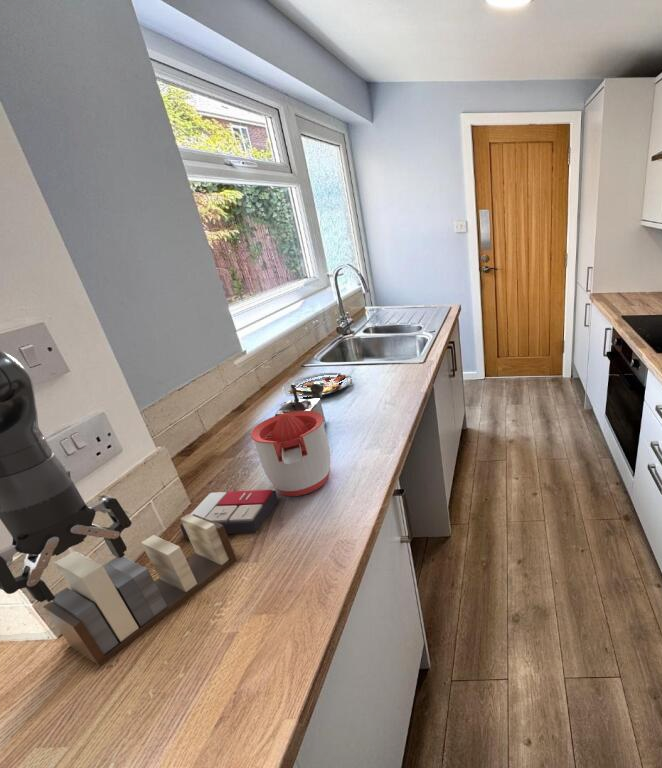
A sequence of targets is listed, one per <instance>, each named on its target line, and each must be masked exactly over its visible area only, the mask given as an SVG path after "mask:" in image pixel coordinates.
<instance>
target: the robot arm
mask: <svg viewBox="0 0 662 768" xmlns="http://www.w3.org/2000/svg"><path fill="white" fill-rule="evenodd" d="M38 419H39V417H38V410H37V403H36V397H35V389H34V385H33V380H32V377H31V375H30V373H29V372H28V370H27V368H26V367H25V366H24V365H23V364H22V362H21V361H19V360H18V359H17V358H16V357H14V356H13V355H11V354H9V353H7V352H6V351H4V350H0V521H1V523H2V524H3V525H4V527H5V529H6V530H7V531H8V533H9V534H10V536H11V537H12V542H11V545H9V546H6V547H3V548H2V549H0V590H2V591H3V592H4V593H6V594H7V595H11V594H12V595H13V594H15V593H16V592H17V591H19V590H21V589H26V590H27V591H28V593H29V594H30V595H31V597H32V598H33V599H34V600H36V601H37V602H40V603H43V602H45V601H46V602H47V603H49V602H51V601H52V600H53V599H55V597H54V594H53V592H52V591H51V590H50V588H49V587H48V585H47V584H46V582H45V581H44V580H43V579H41V577H42V576H43V573H44V571H45V569H47V567H49V566H48V565H49V564H50V561H51V559H52V557H54V556H56V557H57V556H60V555H61V554H63V553H65V552H66V551H68V549H69V548H72V547H74V546H77V545H79V544H81V543H83V542H84V541H85V539H86V538H87V537H88V536H91V537H96V538H103V540H104V542H105V544H106V546H107V547H108V549H109V552H111V554H112V556H114V557H115V558H116V557H117V558H121V557H125V556H126V553H125V552H126V551H127V545H126V543H125V542H124V540H123V538H122V536H121V534H122V532H123V531H124V530H125V529H128V528H130V527H131V526H132V521H131V519H130V517H129V516H128V514H127V512H126V511H125V509H123V507H122V505H121V504H120V502H119V501H118V499H117V498H116V497H113V496H110V495H107V494H102V495H101V496H100V497H98V501H96V502H95V503H93V504H90V505H89V506H88V505H87V504H86V502H85V501H84V498H83V497H82V495H81V493H80V491H79V489H78V488H77V486H76V485H75V483H74V481H73V480H72V476H71V473H70V472H69V471H68V470H67V469H66V467H65V466H64V464H63V462H61V460H60V459H59V457H57V456H56V455H55V453H54V451H53V449H52V447H51V446H50V444H49V443H48V441H47V439H46V438H45V436H44V434H43V433H42V430H41V429H40V427H39V420H38ZM97 512H100V513H103V514H107V515H108V516H109V518H110V519H111V520H112V522H113V523H112V524H111V525H110V526H109V527H108V526H103V525H98V524H96V523H93V522H94V519H95V517H96V513H97ZM17 553H21V554H26V555H25V557H24V560H23V567H22V569H21V571H20V574H19V576H16V577H15V576H14V574H13V573H12V571H11V569H10V568H9V565H11V564H12V563H13V561H14V555H15V554H17ZM52 602H53V601H52Z"/></svg>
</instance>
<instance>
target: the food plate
mask: <svg viewBox="0 0 662 768" xmlns="http://www.w3.org/2000/svg"><path fill="white" fill-rule="evenodd" d="M324 375H338V376H337V377H330V376H329V377H322V378H320V379H319V378H318V379H315V380H311V381H308V382H305V383H303V384H300V385H302V386H300V385H299V386H298V387H296V389H298V390H301V389H302V388H308V389H307V390H308V391H311V390H309V389H310V385H311V384H312V383H315V382H319V383H322V384H323V386H324V390H323V391H322V392H321V395H322V396H326V395H330V394H333V393H337V392H339V391H341V390H343V389H344V388H346V387H347V386H349V385H350V384H352V382H353V379H351V378H352V376H351V375H348V374H346V373H342V372H320V373H314V374H309V375H305V376H301V377H298V378H295V379H293V380H290V381H289V382H287V383H286V384H285V385H283V386H282V388H281V393H282V394H283V395H285V396H289V397H294V394H293V391H291V389H292V388H291V385H292V384H295V385H298V384H299V383H301V382H303V381H307V380H306V379H308V380H309V379H310V378H311V379H312V378H314V377H318V376H324ZM345 378H348V379H349V380H348V379H347V382H345V383H346V384H345V383H344V385H343V386H341V385H342V383H343V382H341V383H339V384H334V385H333V382H332V381H331V382H332V383H330V384H331V385H332V386H330V387H329V386H325V385H329V384H328V383H327V382H330V381H329V380H331V379H334V380H333V381H335V382H334V383H338V382H340V381H342V380H344V379H345ZM324 381H326V383H327V384H326V383H325V384H324V383H323V382H324ZM306 383H307V384H306ZM303 386H307V387H303ZM300 388H301V389H300ZM289 392H290V393H289ZM296 393H297V397H298V398H300V397H304V398H305V397H312V394H306V393H299V392H296ZM322 393H324V394H322ZM299 394H302V395H299Z"/></svg>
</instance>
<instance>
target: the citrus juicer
mask: <svg viewBox="0 0 662 768" xmlns="http://www.w3.org/2000/svg"><path fill="white" fill-rule="evenodd" d="M325 428H326V427H325ZM325 428H324V424H323V416H322V415H321V414H320V413H318V412H315V411H293V412H288V413H284V414H280V415H277V416H275V415H274V416H272V417H269V418H267V419H264V420H263V421H261V422H259V423H258V424H257V425H255V426H254V427H253V428H252V430H251V432H250V438H251V439H252V440H253V444H254V446H255V449H256V452H257V454H258V455H257V456H258V458H259V461H260V464H261V467H262V469H263V472H264V474H265V475H266V477H267V479H268V481H269V482H270V483H271V485H272V486H273V488H274V489H275V490H276V491H278V493H280V494H281V495H283V496H285V497H300V496H303V495H307V494H310V493H313V492H315V491H316V490H318V489H320V488H321V487H322V486H324V485H325V484H326V483H327V482H328V479H329V477H330V472H331V449H330V445H329V441H328V437H327V432H326V429H325Z"/></svg>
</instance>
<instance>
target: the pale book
mask: <svg viewBox="0 0 662 768" xmlns="http://www.w3.org/2000/svg"><path fill="white" fill-rule="evenodd" d="M54 565H55V566H56V568H57V570H58V571H59V573H60V574H61V576H62V577H63V579H64V580H65V582H66V584H67V585H68V586H69V589H71V590H72V591H74V592H75V593H77V594H79V595H80V596H82V597H84V598H85V599H87V600H89V601H90V602H92V603H93V604H95V606H96V608H97V609H98V611H99V612H100V614H101V616H102V617H103V619H104V620H105V622H106V624H107V625H108V627H109V628H110V630H111V632H112V633H113V635H114V636H115V638H116V639H117V640H119V641H123V640H124V639H125V638H126V637H128V636H129V635H130V634H132V633H133V632H134V631H136V630H137V629H138V628H139V627H138V626H137V624H136V622H135V620H134V619H133V617H132V615H131V614H130V612H129V610H128V608H127V607H126V605H125V603H124V602H123V600H122V598H121V597H120V595H119V593H118V591H117V590H116V588H115V586H114V585H113V583H112V581H111V579H110V578H109V576H108V574H107V573H106V571H105V569H104V567H103V565H102V564H100V563H98V562H96V561H95V560H93V559H91V558H90V557H87V556H85V555H83V554H82V553H80V552H78V551H76V550H74V551H72V552H70V553H69V554H67V555H65V556H63V557H62V558H59V559H58V560H57V561H54Z"/></svg>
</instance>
